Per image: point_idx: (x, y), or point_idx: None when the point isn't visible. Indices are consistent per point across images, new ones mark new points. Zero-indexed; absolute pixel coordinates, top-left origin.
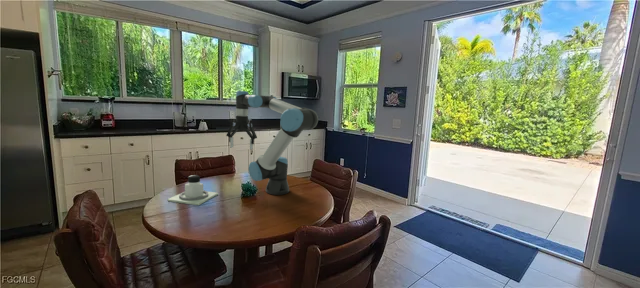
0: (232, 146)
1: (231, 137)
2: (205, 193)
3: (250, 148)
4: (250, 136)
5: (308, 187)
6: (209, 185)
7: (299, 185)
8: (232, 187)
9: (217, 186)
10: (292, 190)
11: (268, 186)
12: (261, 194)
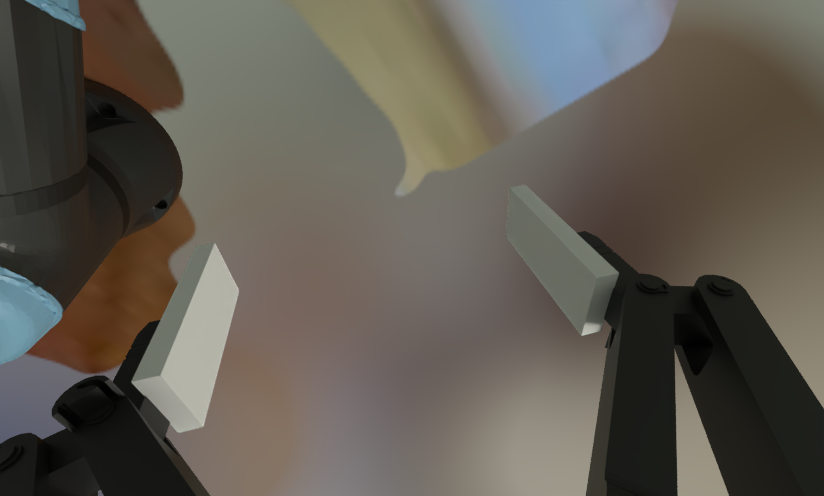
0: (512, 222)
1: (607, 304)
2: None
3: (198, 254)
4: (126, 451)
5: None
6: (535, 42)
7: (95, 306)
8: (391, 80)
9: (482, 49)
10: None
11: (107, 122)
12: (121, 42)
